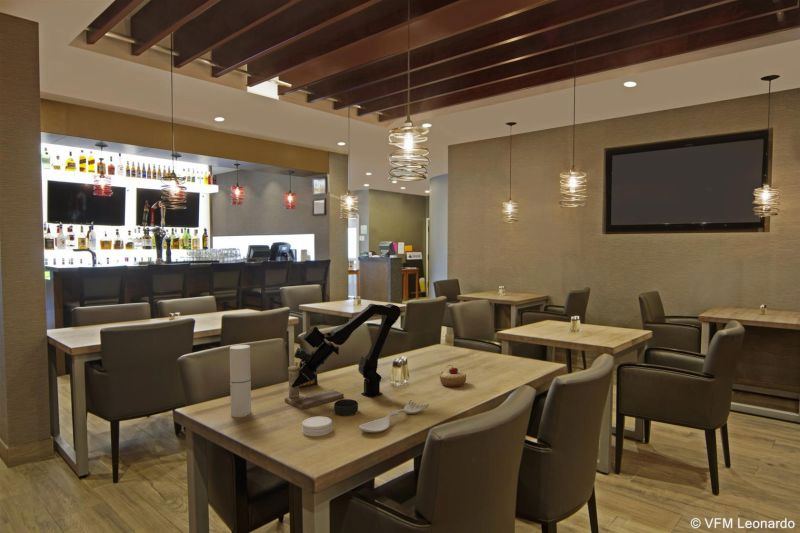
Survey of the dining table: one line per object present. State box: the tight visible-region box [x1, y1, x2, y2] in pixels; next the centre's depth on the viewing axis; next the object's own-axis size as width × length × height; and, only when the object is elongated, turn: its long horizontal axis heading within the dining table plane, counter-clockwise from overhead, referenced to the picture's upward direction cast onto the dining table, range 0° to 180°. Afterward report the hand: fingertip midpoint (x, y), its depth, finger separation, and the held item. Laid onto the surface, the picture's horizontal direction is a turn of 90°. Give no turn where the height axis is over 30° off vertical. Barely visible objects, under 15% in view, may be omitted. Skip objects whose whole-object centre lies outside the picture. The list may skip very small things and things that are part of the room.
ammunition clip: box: [294, 361, 319, 390], centre depth 210 cm, size 11×2×12 cm, turn 129°
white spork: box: [358, 399, 430, 433], centre depth 168 cm, size 9×32×4 cm, turn 142°
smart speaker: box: [333, 398, 359, 417], centre depth 177 cm, size 9×9×4 cm
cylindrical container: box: [229, 344, 252, 418], centre depth 176 cm, size 7×7×25 cm
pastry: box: [439, 364, 467, 388], centre depth 213 cm, size 12×12×9 cm
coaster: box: [301, 416, 333, 437], centre depth 160 cm, size 10×10×4 cm
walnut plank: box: [290, 389, 345, 410], centre depth 190 cm, size 8×20×2 cm, turn 135°
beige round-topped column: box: [284, 365, 305, 405], centre depth 189 cm, size 5×6×14 cm
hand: (292, 383), depth 189 cm, fingers open, 9 cm apart
